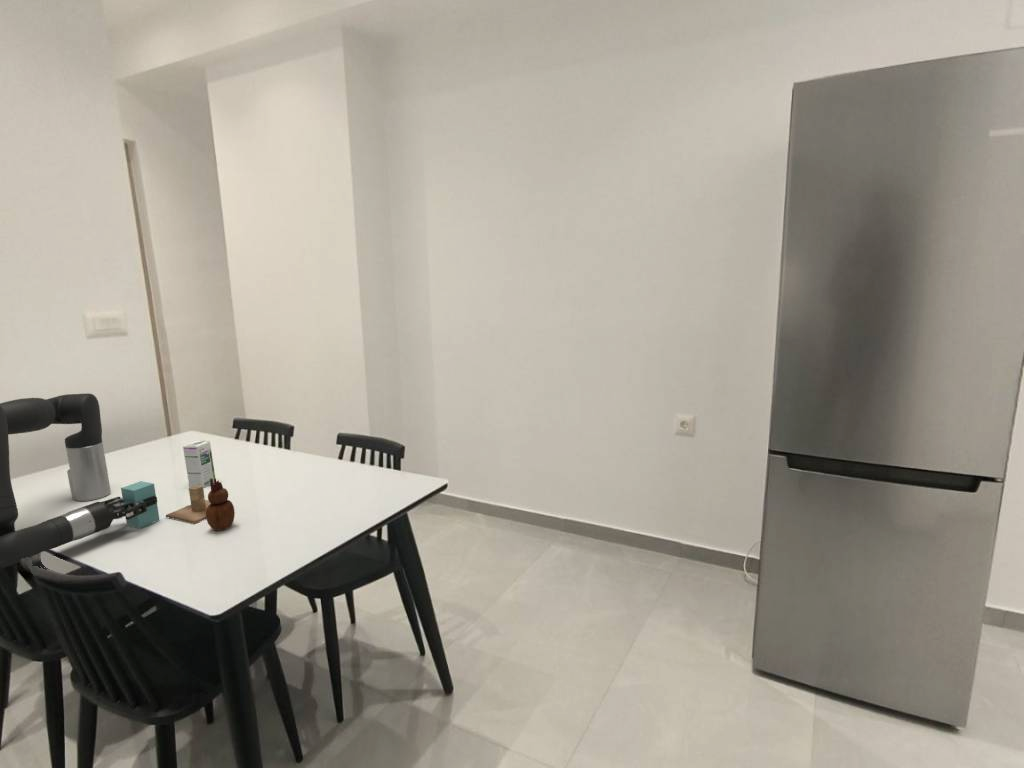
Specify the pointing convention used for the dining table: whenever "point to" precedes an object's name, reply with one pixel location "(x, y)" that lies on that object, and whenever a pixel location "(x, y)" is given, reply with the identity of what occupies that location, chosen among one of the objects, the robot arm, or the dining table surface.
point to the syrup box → (199, 463)
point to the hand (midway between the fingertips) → (148, 497)
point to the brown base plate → (193, 507)
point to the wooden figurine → (219, 507)
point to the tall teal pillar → (137, 494)
